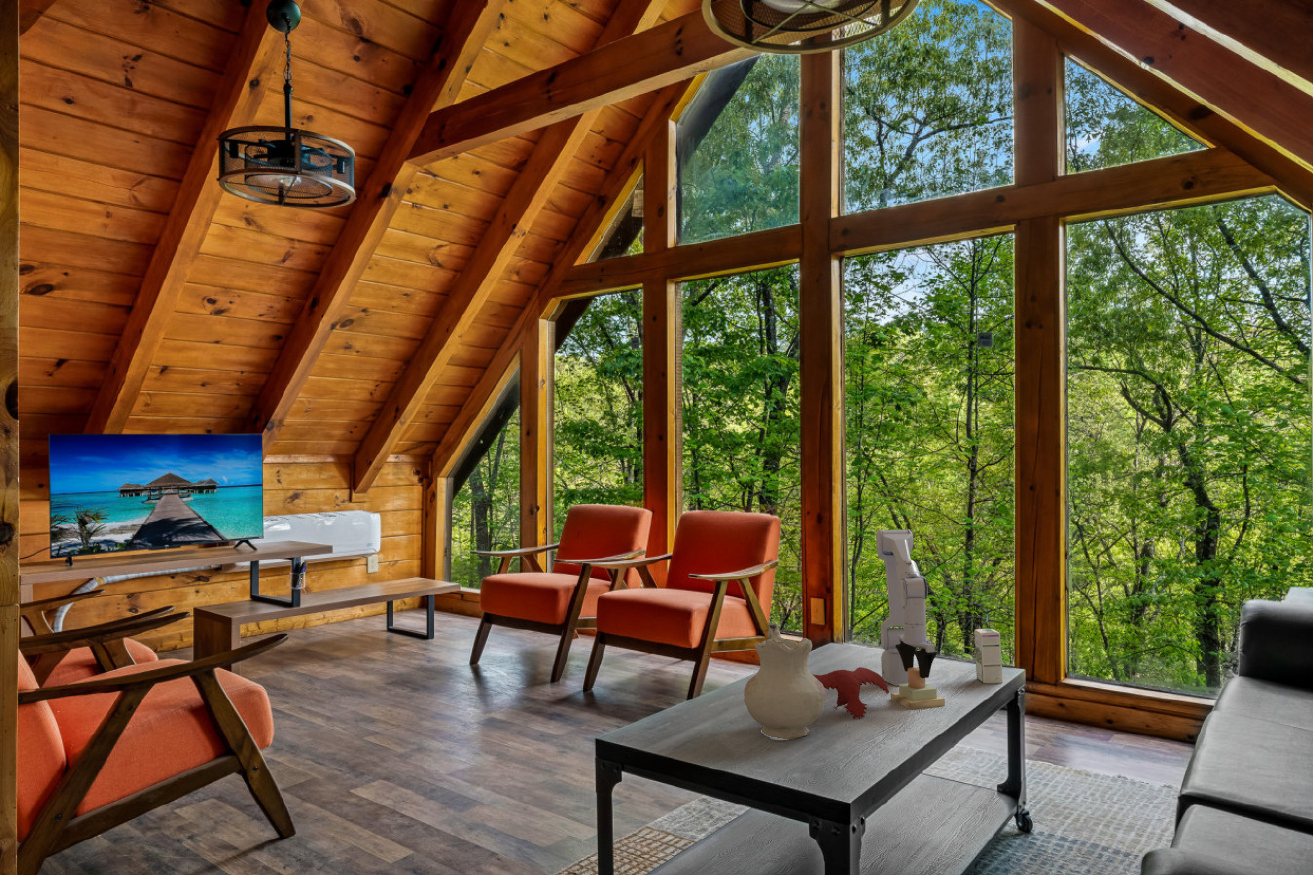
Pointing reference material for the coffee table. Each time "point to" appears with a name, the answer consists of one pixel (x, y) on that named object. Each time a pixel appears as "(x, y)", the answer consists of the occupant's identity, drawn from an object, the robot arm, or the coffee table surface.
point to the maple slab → (917, 701)
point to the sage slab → (917, 692)
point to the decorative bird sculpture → (851, 687)
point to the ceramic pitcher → (784, 687)
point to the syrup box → (988, 656)
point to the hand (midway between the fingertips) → (916, 674)
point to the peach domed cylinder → (915, 679)
